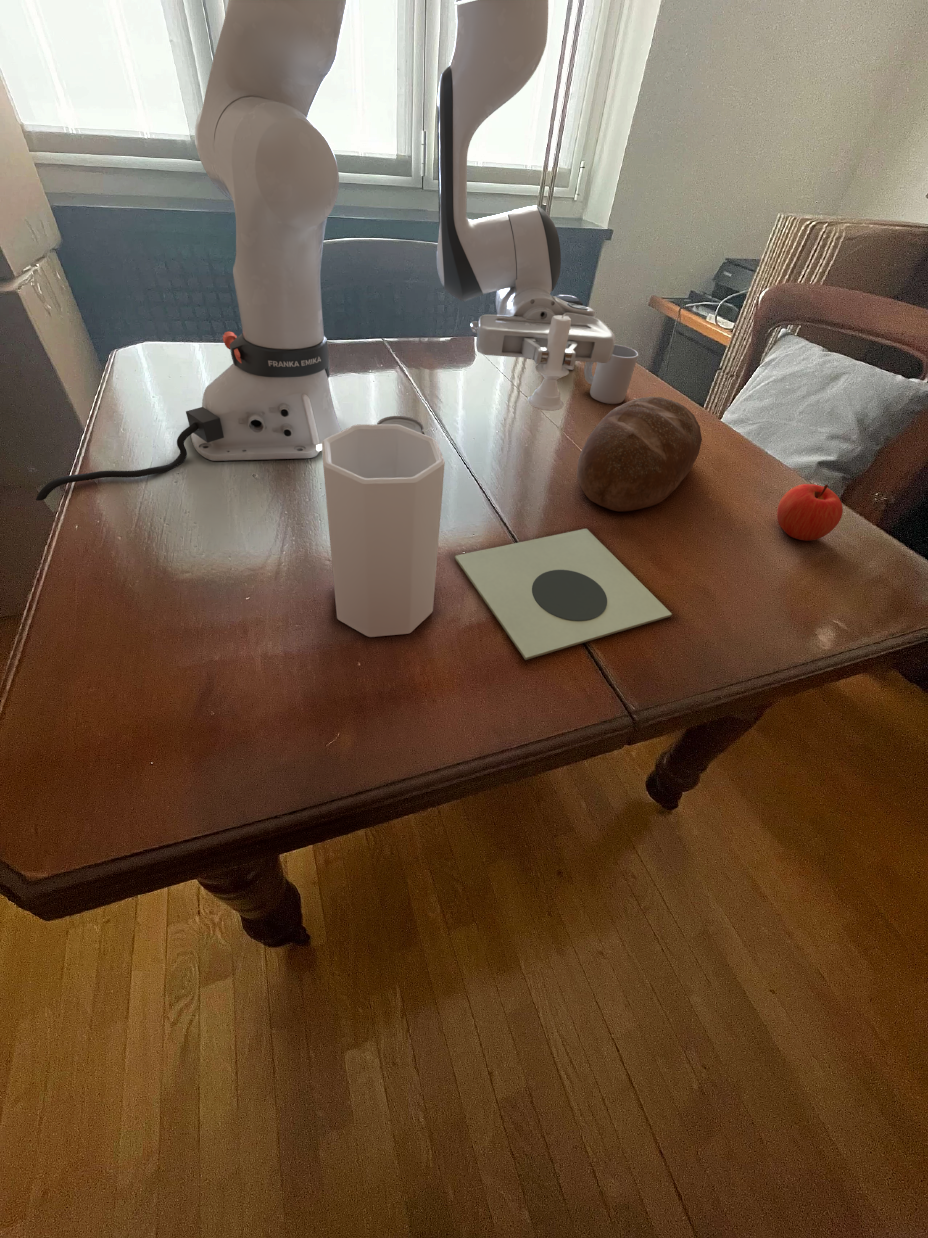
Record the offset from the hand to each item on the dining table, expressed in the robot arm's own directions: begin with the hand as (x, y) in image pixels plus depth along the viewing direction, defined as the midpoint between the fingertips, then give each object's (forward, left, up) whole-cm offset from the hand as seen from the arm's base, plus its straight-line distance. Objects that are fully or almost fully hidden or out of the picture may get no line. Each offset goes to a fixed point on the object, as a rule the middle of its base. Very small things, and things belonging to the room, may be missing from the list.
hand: (556, 359), depth 74 cm
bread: (+16, -6, -17) cm, 24 cm away
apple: (+30, -27, -17) cm, 43 cm away
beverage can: (-24, -5, -17) cm, 30 cm away
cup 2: (+30, +23, -17) cm, 41 cm away
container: (+30, +41, -17) cm, 54 cm away
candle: (0, +1, -7) cm, 7 cm away
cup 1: (-32, -22, -17) cm, 42 cm away
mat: (-11, -26, -17) cm, 33 cm away
